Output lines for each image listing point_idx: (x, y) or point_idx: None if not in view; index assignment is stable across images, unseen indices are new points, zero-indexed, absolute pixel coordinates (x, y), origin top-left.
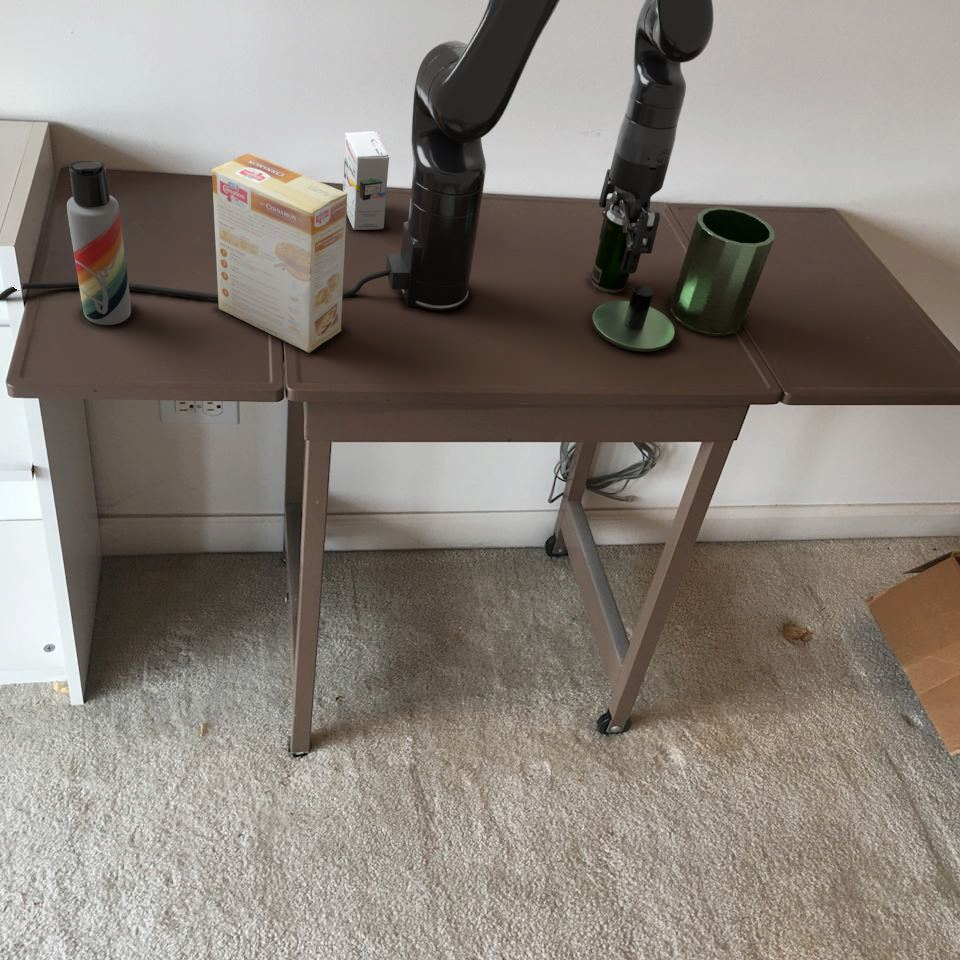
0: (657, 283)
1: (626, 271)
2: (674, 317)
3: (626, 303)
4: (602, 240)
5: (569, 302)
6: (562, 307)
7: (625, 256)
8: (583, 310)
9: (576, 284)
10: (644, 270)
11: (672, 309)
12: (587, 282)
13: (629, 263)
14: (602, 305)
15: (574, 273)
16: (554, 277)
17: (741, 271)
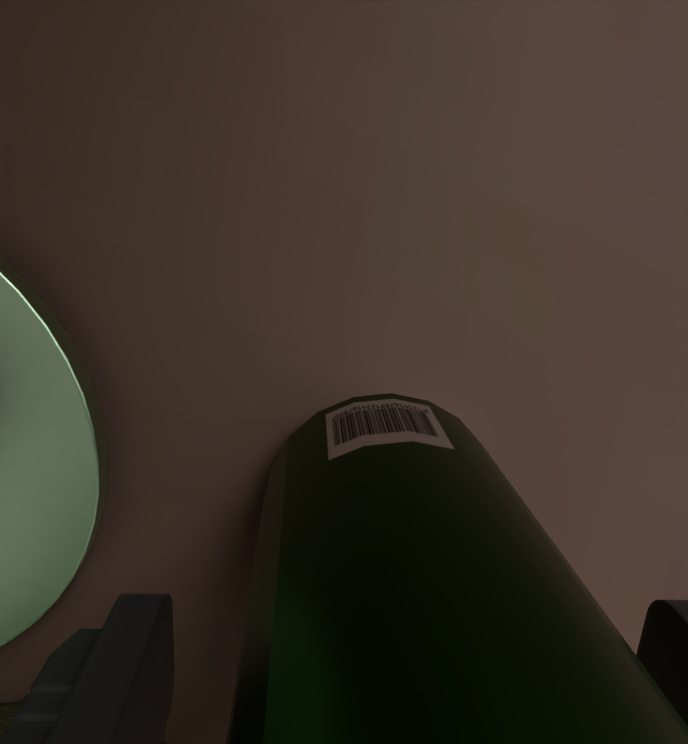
0: None
1: (76, 633)
2: (4, 709)
3: (61, 501)
4: (476, 604)
5: (193, 135)
6: (129, 46)
7: (62, 741)
8: (88, 201)
9: (408, 286)
10: None
11: None
12: (419, 370)
13: (18, 721)
14: (30, 324)
15: (533, 326)
16: (517, 158)
17: None
